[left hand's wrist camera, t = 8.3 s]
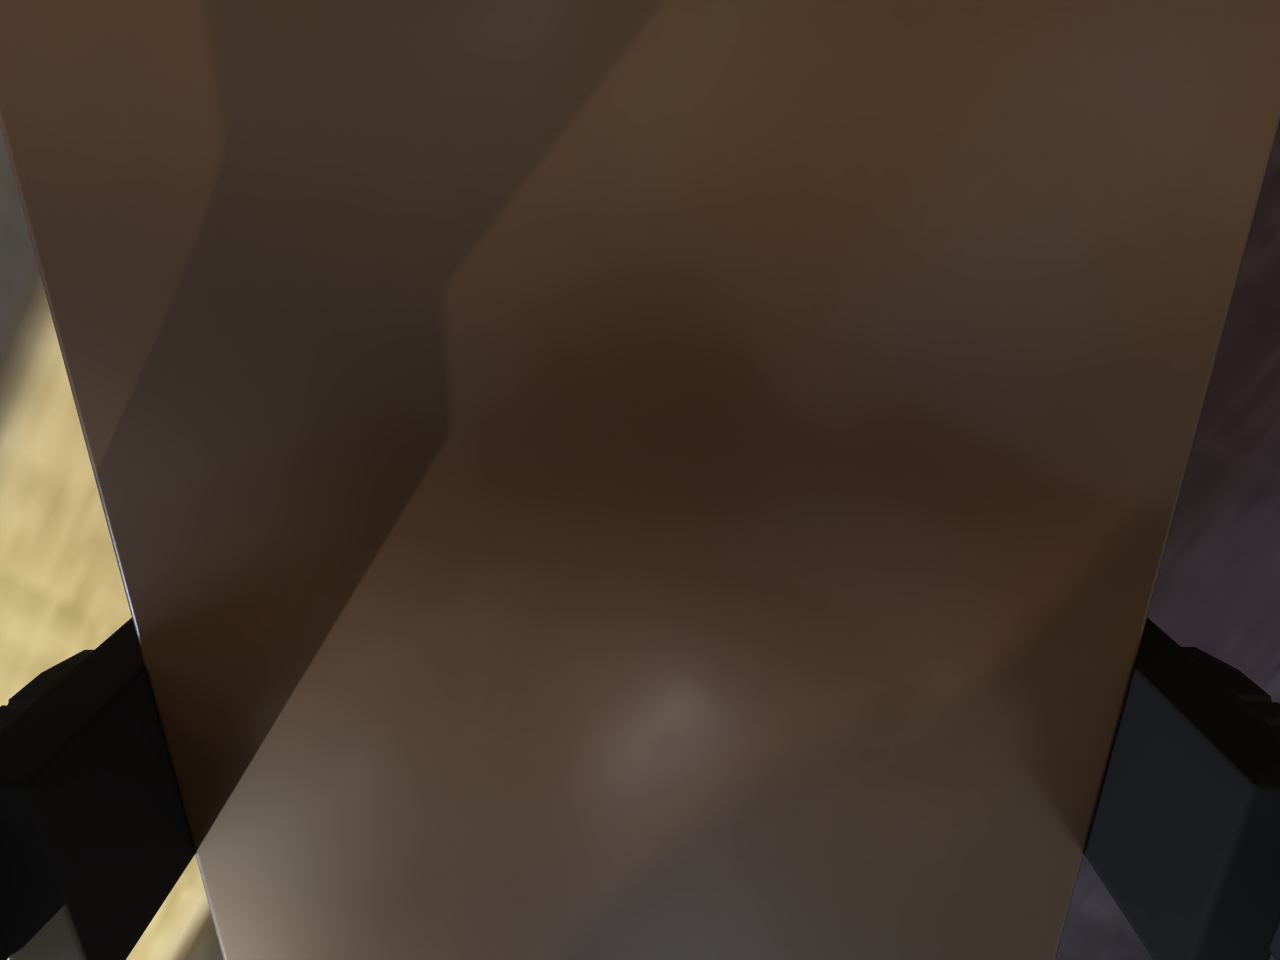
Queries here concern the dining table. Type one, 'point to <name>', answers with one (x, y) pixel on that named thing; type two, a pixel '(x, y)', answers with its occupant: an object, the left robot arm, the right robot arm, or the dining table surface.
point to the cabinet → (639, 443)
